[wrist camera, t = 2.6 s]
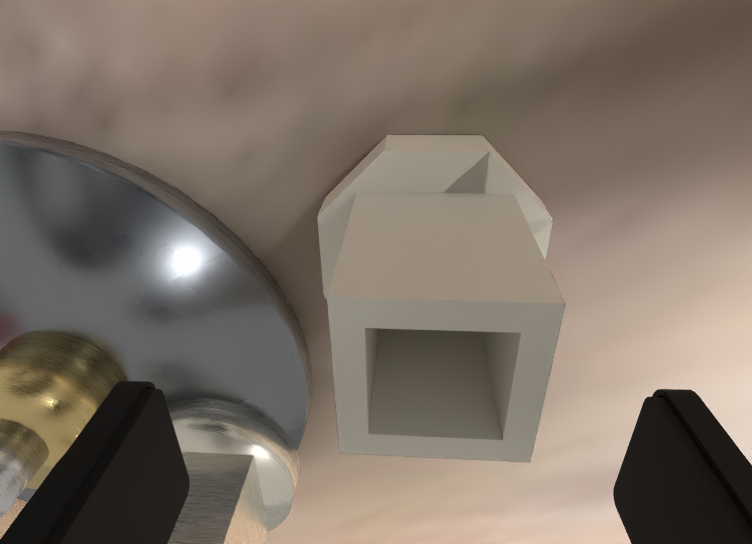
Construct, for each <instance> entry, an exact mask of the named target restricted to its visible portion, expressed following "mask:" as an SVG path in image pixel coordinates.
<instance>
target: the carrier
mask: <svg viewBox="0 0 752 544" xmlns="http://www.w3.org/2000/svg"><path fill="white" fill-rule="evenodd" d="M120 381H148V382H152V383H153V384H154V385H155V388H156V389H161V390H162V392H163V394H164V397H165V400H166V403H167V406H168V410H169V413H170V416H171V420H172V423H173V426H174V429H175V433H176V436H177V439H178V442H179V446H180V449H181V452H182V455H183V459H184V462H185V465H186V468H187V472H188V475H189V479H190V486H189V492H188V496H187V499H186V501H185V503H184V506H183V508H182V510H181V513H180V515H179V518H178V520H177V522H176V525H175V527H174V529H173V532H172V534H171V537H170V539H169V541H168V544H264V541H265V537H266V533H267V532H268V531H270V530H272V529H274V528H275V527H276V526H278V525H279V524H280V523H281V522H282V521H283V520H284V519H285V518H286V516H287V515H288V513H289V511H290V508H291V505H292V501H293V496H294V492H295V488H296V484H297V480H298V475H299V470H300V459H299V454H298V451H297V450H298V447H299V444H300V441H301V439H302V436H303V432H304V428H305V424H306V420H307V416H308V412H309V406H310V399H311V393H312V385H311V366H310V361H309V356H308V351H307V346H306V343H305V340H304V337H303V334H302V332H301V329H300V326H299V323H298V320H297V318H296V316H295V315H294V313H293V311H292V309H291V307H290V305H289V303H288V301H287V299H286V297H285V296H284V294H283V292H282V291H281V289H280V288H279V286H278V285H277V284H276V282H275V281H274V279H273V278H272V276H271V275H270V274H269V272H268V271H267V269H266V268H265V267H264V265H263V264H262V263H261V262H260V261H259V260H258V259H257V258H256V256H255V255H254V254H253V253H252V252H251V251H250V250H249V249H248V248H247V246H246V245H245V244H244V243H243V242H242V241H241V240H240V239H239V238H238V237H237V236H236V235H235V234H234V233H232V232H231V231H230V230H229V229H228V228H227V227H226V226H225V225H223V224H222V223H221V222H220V221H219V220H218V219H217V218H216V217H215V216H213V215H212V214H211V213H209V212H208V211H207V210H205V209H204V208H203V207H201V206H200V205H198V204H197V203H196V202H194V201H193V200H191V199H190V198H189V197H187V196H186V195H185V194H183V193H182V192H180V191H179V190H177V189H175V188H174V187H172V186H170V185H168V184H167V183H165V182H163V181H161V180H160V179H158V178H156V177H154V176H153V175H151V174H149V173H147V172H146V171H144V170H142V169H139V168H137V167H135V166H133V165H130V164H128V163H126V162H124V161H121V160H119V159H117V158H115V157H112V156H110V155H108V154H105V153H102V152H99V151H96V150H93V149H90V148H87V147H84V146H81V145H77V144H74V143H71V142H68V141H64V140H59V139H54V138H49V137H44V136H39V135H34V134H29V133H18V132H4V131H0V517H2V516H3V515H4V514H5V513H6V512H7V510H8V509H9V508H10V506H11V505H12V504H13V503H14V501H15V500H16V499H17V498H19V499H21V500H24V501H27V502H28V501H29V500H30V498H31V497H32V496H33V494H34V493H35V492H36V490H37V489H38V488H39V486H40V485H41V484H42V482H43V481H44V479H45V478H46V477H47V475H48V474H49V473H50V471H51V470H52V469H53V467H54V466H55V464H56V463H57V462H58V461H59V460H60V459H61V457H62V456H63V455H64V454H65V453H66V452H67V450H68V449H69V447H70V446H71V445H72V443H73V442H74V441H75V439H76V438H77V437H78V435H79V434H80V432H81V431H82V430H83V428H84V427H85V426H86V424H87V423H88V421H89V420H90V419H91V417H92V416H93V415H94V413H95V412H96V410H97V409H98V408H99V406H100V405H101V404H102V402H103V401H104V400H105V398H106V397H107V395H108V394H109V393H110V391H111V390H112V389H113V387H114V386H115V385H116V384H117V383H118V382H120Z"/></svg>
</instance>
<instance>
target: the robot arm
mask: <svg viewBox="0 0 752 544" xmlns="http://www.w3.org/2000/svg"><path fill="white" fill-rule="evenodd" d="M189 486H190V479H189V475H188V472H187V468H186V465H185V462H184V459H183V455H182V452H181V449H180V446H179V442H178V439H177V436H176V433H175V429H174V426H173V423H172V420H171V416H170V413H169V410H168V406H167V403H166V400H165V397H164V394H163V392H162V390H161V389H156V388H155V385H154V384H153V383H152V382H148V381H120V382H118V383H117V384H116V385H115V386H114V387H113V389H112V390H111V391H110V393H109V394H108V395H107V397H106V398H105V400H104V401H103V402H102V404H101V405H100V406H99V408H98V409H97V410H96V412H95V413H94V415H93V416H92V417H91V419H90V420H89V421H88V423H87V424H86V426H85V427H84V428H83V430H82V431H81V432H80V434H79V435H78V437H77V438H76V439H75V441H74V442H73V443H72V445H71V446H70V447H69V449H68V450H67V452H66V453H65V454H64V455H63V456H62V457H61V459H60V460H59V461H58V462H57V463H56V464H55V466H54V467H53V469H52V470H51V471H50V473H49V474H48V475H47V477H46V478H45V479H44V481H43V482H42V484H41V485H40V486H39V488H38V489H37V490H36V492H35V493H34V494H33V496H32V497H31V498H30V500H29V501H28V503H27V504H26V505H25V507H24V508H23V509H22V511H21V512H20V513H19V515H18V516H17V518H16V519H15V520H14V522H13V523H12V524H11V526H10V527H9V528H8V530H7V531H6V533H5V534H4V535H3V537H2V538H1V539H0V544H168V541H169V539H170V537H171V534H172V532H173V529H174V527H175V525H176V522H177V520H178V518H179V515H180V513H181V510H182V508H183V506H184V503H185V501H186V499H187V496H188V492H189ZM613 495H614V502H615V506H616V508H617V511H618V513H619V515H620V518H621V520H622V522H623V525H624V527H625V529H626V532H627V534H628V536H629V539H630V541H631V543H632V544H752V465H751V464H750V463H749V461H748V460H747V459H746V457H745V456H744V455H743V453H742V452H741V451H740V450H739V448H738V447H737V446H736V444H735V443H734V442H733V440H732V439H731V438H730V436H729V435H728V434H727V432H726V431H725V430H724V429H723V427H722V426H721V425H720V423H719V422H718V421H717V419H716V418H715V417H714V415H713V414H712V413H711V411H710V410H709V409H708V408H707V406H706V405H705V404H704V402H703V401H702V400H701V398H700V397H699V396H698V395H697V394H696V393H695V392H694V391H692V390H670V389H659V390H656V391H655V392H654V394H653V396H652V397H647V398H646V399H645V401H644V403H643V406H642V409H641V411H640V414H639V417H638V420H637V423H636V426H635V429H634V432H633V434H632V437H631V440H630V443H629V446H628V449H627V452H626V454H625V457H624V460H623V463H622V466H621V469H620V472H619V475H618V477H617V480H616V483H615V486H614V494H613Z"/></svg>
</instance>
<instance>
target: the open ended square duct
mask: <svg viewBox="0 0 752 544" xmlns="http://www.w3.org/2000/svg"><path fill="white" fill-rule="evenodd" d="M317 222H318V234H319V246H320V258H321V270H322V282H323V294H324V297H325V298H326V299H327V304H328V317H329V329H330V342H331V355H332V367H333V380H334V392H335V405H336V417H337V430H338V442H339V453H344V454H365V455H386V456H406V457H427V458H448V459H468V460H489V461H510V462H530V461H531V456H532V452H533V447H534V443H535V438H536V434H537V429H538V425H539V420H540V416H541V411H542V407H543V402H544V398H545V393H546V389H547V384H548V380H549V375H550V371H551V366H552V362H553V357H554V353H555V348H556V344H557V340H558V335H559V331H560V326H561V322H562V317H563V313H564V308H565V304H566V303H565V301H564V299H563V297H562V295H561V293H560V291H559V289H558V286H557V284H556V282H555V280H554V278H553V276H552V274H551V272H550V269H549V267H548V265H547V263H546V255H547V250H548V245H549V239H550V234H551V229H552V223H553V220H552V218H551V216H550V215H549V213H548V211H547V209H546V208H545V206H544V204H543V203H542V201H541V199H540V198H539V197H538V196H537V195H536V194H535V193H534V192H533V191H532V189H531V188H530V187H529V186H528V185H527V184H526V183H525V182H524V181H523V180H522V178H521V177H520V176H519V175H518V174H517V173H516V172H515V171H514V170H513V168H512V167H511V166H510V165H509V164H508V163H507V162H506V161H505V160H504V159H503V157H502V156H501V155H500V154H499V153H498V152H497V151H496V150H495V149H494V148H493V146H492V145H491V144H490V143H489V142H488V141H487V140H486V139H485V138H484V137H483V135H387V136H386V137H385V138H384V139H383V140H382V141H381V142H380V143H379V144H378V145H377V146H376V147H375V148H374V149H373V150H372V151H371V152H370V153H369V154H368V155H367V156H366V157H365V158H364V159H363V160H362V161H361V162H360V163H359V164H358V165H357V166H356V167H355V168H354V169H353V170H352V171H351V172H350V173H349V174H348V175H347V176H346V177H345V178H344V179H343V180H342V181H341V182H340V183H339V184H338V185H337V186H336V187H335V188H334V189H333V190H332V191H331V192H330V193H329V194H328V195H327V196H326V197H325V200H324V202H323V204H322V207H321V209H320V211H319V214H318V216H317Z"/></svg>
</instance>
